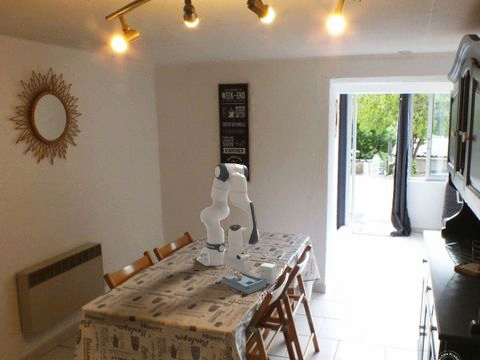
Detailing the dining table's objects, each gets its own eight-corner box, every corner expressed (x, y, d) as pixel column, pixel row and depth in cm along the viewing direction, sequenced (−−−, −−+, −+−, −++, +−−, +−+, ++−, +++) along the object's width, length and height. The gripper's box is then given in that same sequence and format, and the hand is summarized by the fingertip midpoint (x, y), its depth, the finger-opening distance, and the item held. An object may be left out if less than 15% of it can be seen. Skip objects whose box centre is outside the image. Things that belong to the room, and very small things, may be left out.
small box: (276, 281, 247) (276, 264, 245) (272, 285, 242) (272, 267, 241) (264, 279, 251) (264, 262, 250) (260, 282, 246) (260, 265, 245)
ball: (235, 277, 246) (237, 273, 244) (239, 275, 248) (241, 271, 246) (238, 281, 244) (240, 277, 242) (242, 279, 246) (244, 275, 244)
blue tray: (222, 282, 247) (222, 275, 246) (240, 276, 256) (239, 269, 255) (248, 293, 231) (248, 286, 230) (266, 286, 240) (265, 279, 239)
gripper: (220, 250, 251) (221, 272, 253) (243, 258, 236) (244, 281, 238) (228, 248, 255) (229, 270, 257) (251, 255, 240) (252, 278, 242)
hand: (236, 275), depth 247 cm, fingers closed
